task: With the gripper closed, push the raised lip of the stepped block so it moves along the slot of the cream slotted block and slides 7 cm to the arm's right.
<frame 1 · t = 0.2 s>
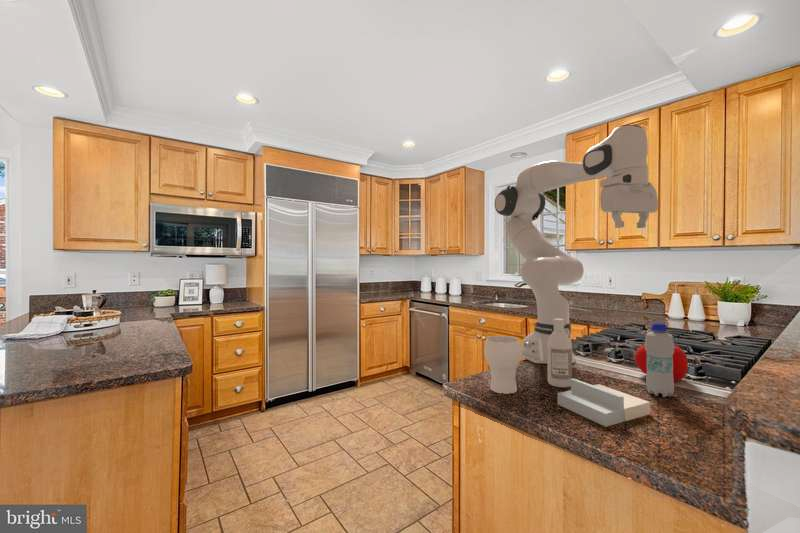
hand: (630, 227, 104), 47 cm above the worktop, fingers open, 8 cm apart
cream slotted block: (598, 410, 90), on the worktop
bottle: (659, 394, 99), on the worktop
bath foam: (559, 384, 109), on the worktop
tomato: (662, 378, 112), on the worktop
stepped block: (588, 400, 89), point 3 cm above the worktop, slide at 0.0 cm
cup: (503, 389, 106), on the worktop
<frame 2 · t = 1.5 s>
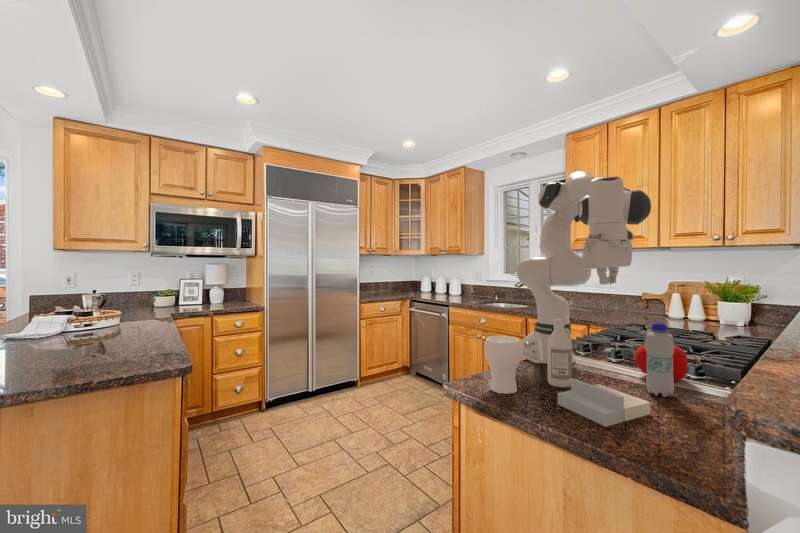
hand: (607, 283, 99), 31 cm above the worktop, fingers open, 3 cm apart
nothing on the worktop moved.
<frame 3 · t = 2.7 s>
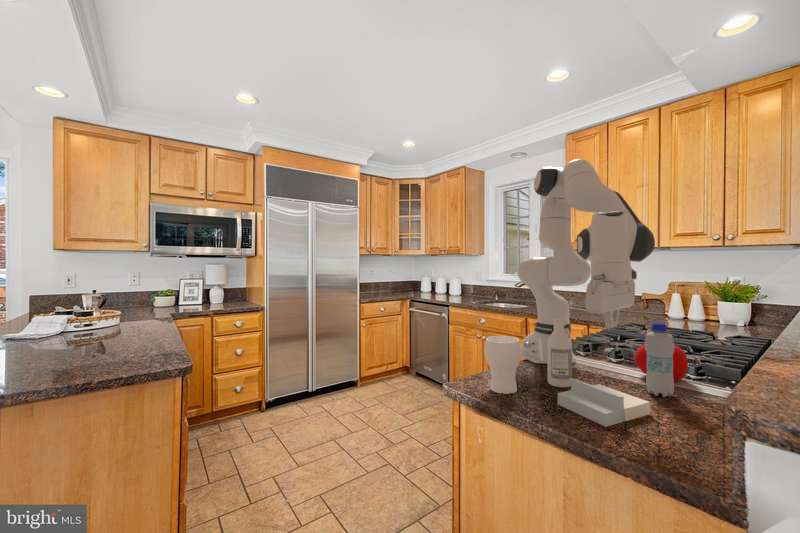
hand: (611, 327, 91), 21 cm above the worktop, fingers closed
nothing on the worktop moved.
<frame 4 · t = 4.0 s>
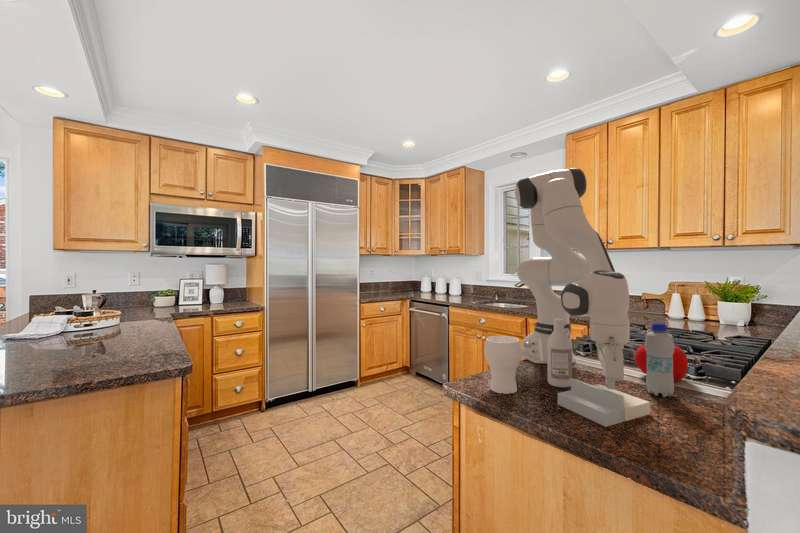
hand: (610, 387, 91), 5 cm above the worktop, fingers closed
nothing on the worktop moved.
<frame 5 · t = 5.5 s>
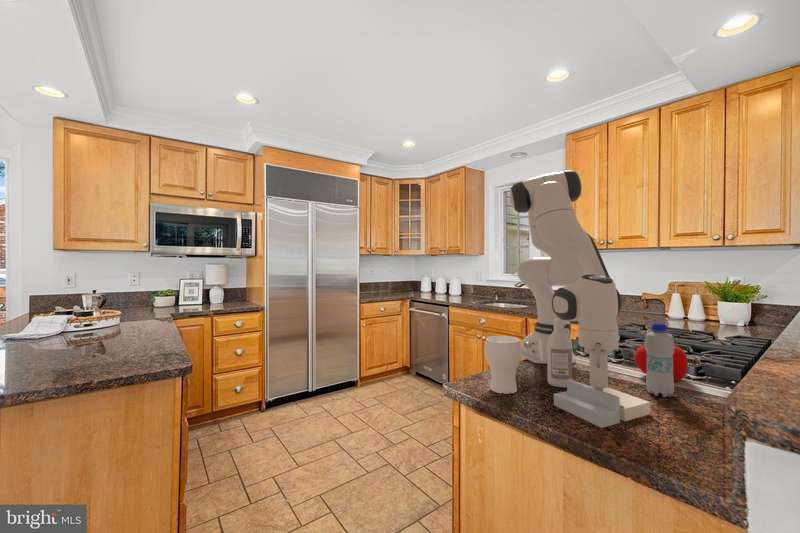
hand: (599, 393, 90), 4 cm above the worktop, fingers closed
stepped block: (584, 401, 88), point 3 cm above the worktop, slide at 1.3 cm, touching gripper
everything else where it was.
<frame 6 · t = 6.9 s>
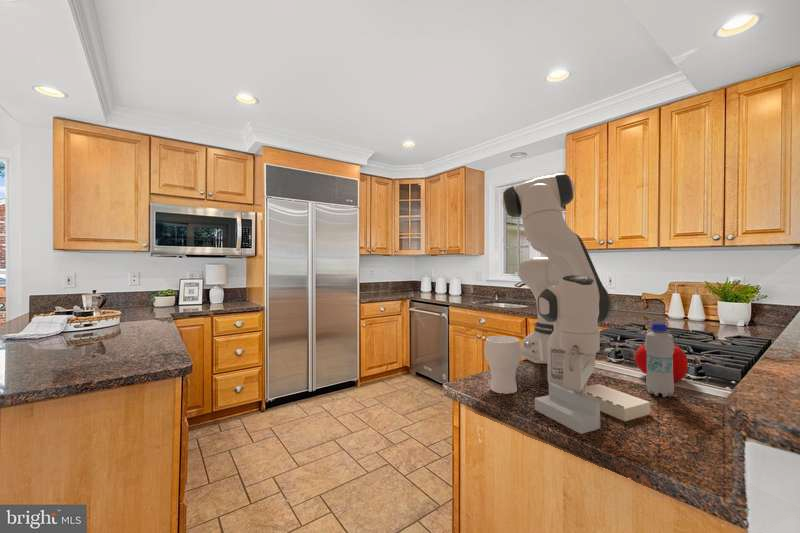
hand: (580, 398, 87), 4 cm above the worktop, fingers closed
stepped block: (565, 406, 86), point 3 cm above the worktop, slide at 7.8 cm, touching gripper
everything else where it was.
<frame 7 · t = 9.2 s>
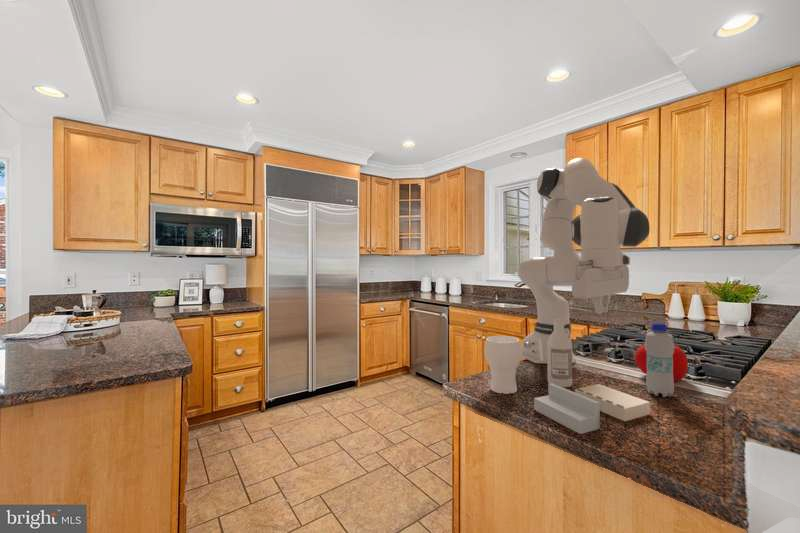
hand: (601, 312, 92), 24 cm above the worktop, fingers closed
stepped block: (564, 406, 86), point 3 cm above the worktop, slide at 7.9 cm
everything else where it was.
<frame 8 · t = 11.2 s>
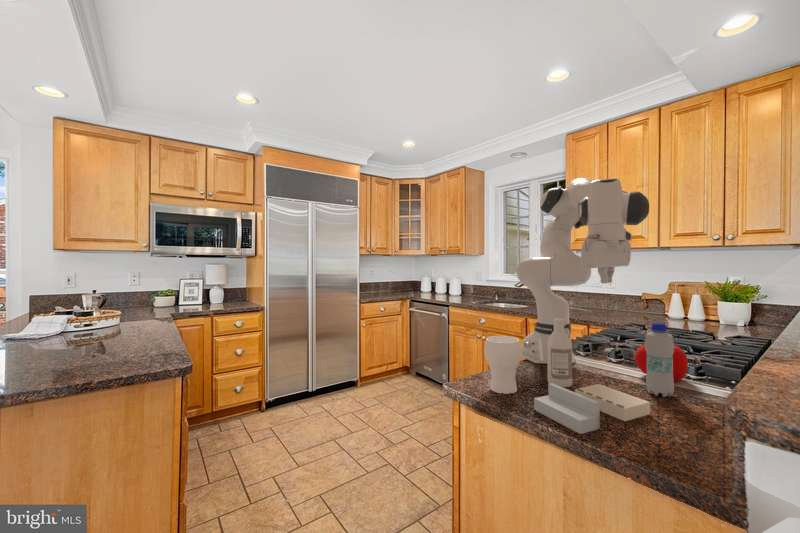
hand: (606, 283, 102), 31 cm above the worktop, fingers closed
nothing on the worktop moved.
at the end: stepped block slide at 7.9 cm; the gripper is holding nothing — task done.
